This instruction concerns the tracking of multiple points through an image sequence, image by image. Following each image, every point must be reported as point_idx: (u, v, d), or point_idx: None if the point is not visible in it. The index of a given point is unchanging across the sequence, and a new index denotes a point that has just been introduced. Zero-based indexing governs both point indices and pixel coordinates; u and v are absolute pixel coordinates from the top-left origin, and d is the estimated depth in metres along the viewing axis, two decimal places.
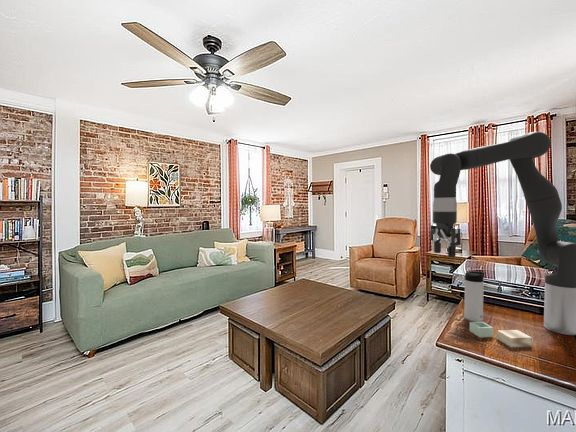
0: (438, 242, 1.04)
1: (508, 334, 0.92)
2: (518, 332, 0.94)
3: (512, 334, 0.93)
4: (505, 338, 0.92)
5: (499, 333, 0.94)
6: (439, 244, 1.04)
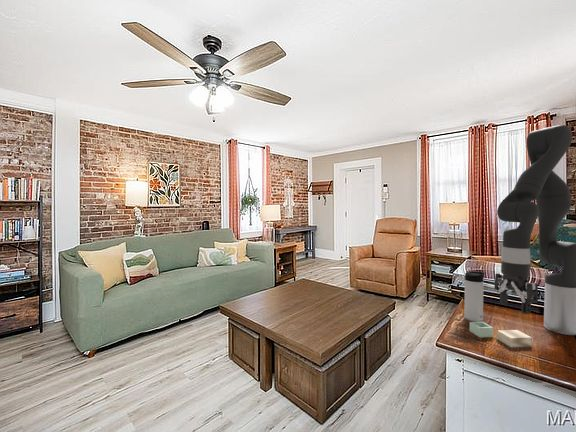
0: (505, 293, 0.96)
1: (508, 334, 0.92)
2: (518, 332, 0.94)
3: (512, 334, 0.93)
4: (505, 338, 0.92)
5: (499, 333, 0.94)
6: (506, 295, 0.96)
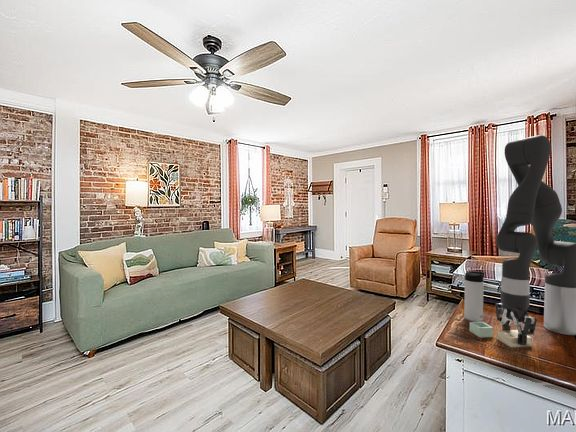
0: (507, 324, 0.95)
1: (508, 334, 0.92)
2: None
3: (512, 334, 0.93)
4: (505, 338, 0.92)
5: (499, 333, 0.94)
6: (509, 327, 0.95)
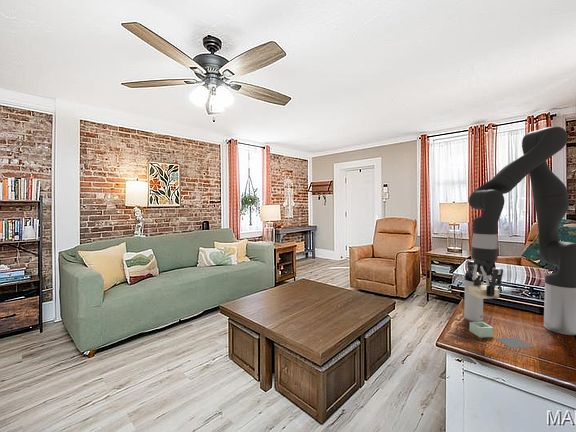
0: (478, 280, 1.00)
1: (478, 287, 0.97)
2: None
3: (481, 287, 0.97)
4: (475, 291, 0.97)
5: (470, 288, 0.99)
6: (479, 282, 1.00)
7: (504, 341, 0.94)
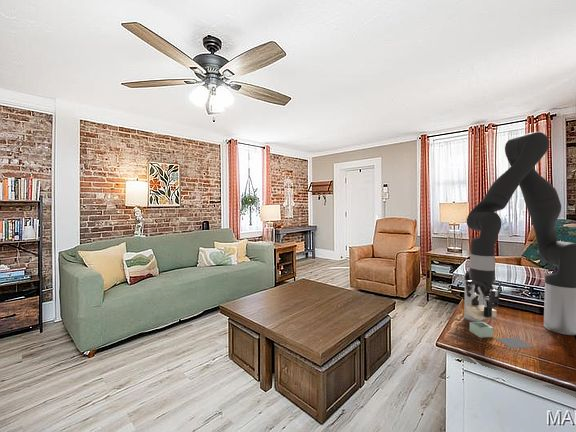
0: (476, 300, 1.01)
1: (475, 308, 0.98)
2: None
3: (479, 308, 0.98)
4: (473, 311, 0.98)
5: (468, 307, 1.00)
6: (477, 302, 1.01)
7: (504, 341, 0.94)
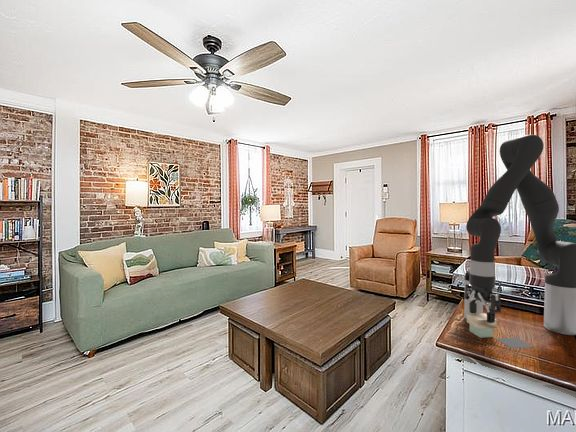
0: (474, 302, 1.03)
1: (475, 317, 0.98)
2: (485, 315, 1.00)
3: (479, 316, 0.99)
4: (473, 320, 0.98)
5: (468, 316, 1.01)
6: (475, 304, 1.03)
7: (504, 341, 0.94)
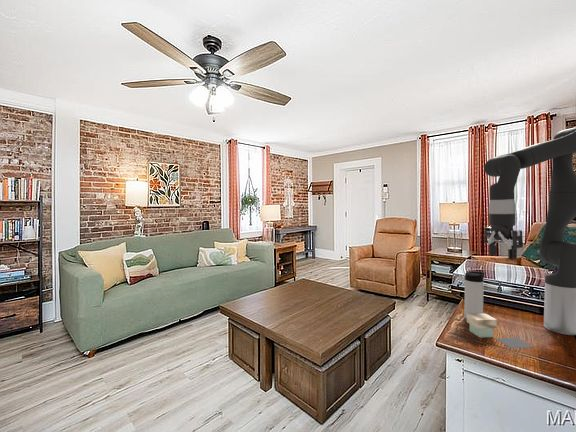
0: (493, 244, 1.02)
1: (475, 317, 0.98)
2: (485, 315, 1.00)
3: (479, 316, 0.99)
4: (473, 320, 0.98)
5: (468, 316, 1.01)
6: (494, 246, 1.02)
7: (504, 341, 0.94)
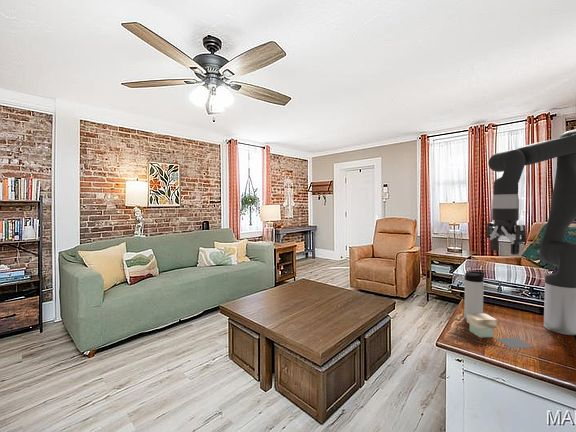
0: (496, 239, 1.02)
1: (475, 317, 0.98)
2: (485, 315, 1.00)
3: (479, 316, 0.99)
4: (473, 320, 0.98)
5: (468, 316, 1.01)
6: (497, 242, 1.02)
7: (504, 341, 0.94)
